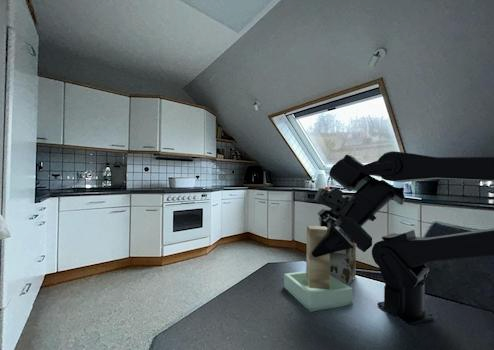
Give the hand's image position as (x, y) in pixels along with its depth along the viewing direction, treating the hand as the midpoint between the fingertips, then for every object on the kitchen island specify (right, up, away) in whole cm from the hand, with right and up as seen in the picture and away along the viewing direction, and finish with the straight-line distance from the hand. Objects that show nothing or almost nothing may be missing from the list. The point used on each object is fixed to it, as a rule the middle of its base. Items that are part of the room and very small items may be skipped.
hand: (310, 252), depth 47 cm
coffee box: (+10, -10, +9) cm, 17 cm away
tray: (+1, -9, 0) cm, 9 cm away
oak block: (+1, -7, 0) cm, 7 cm away
